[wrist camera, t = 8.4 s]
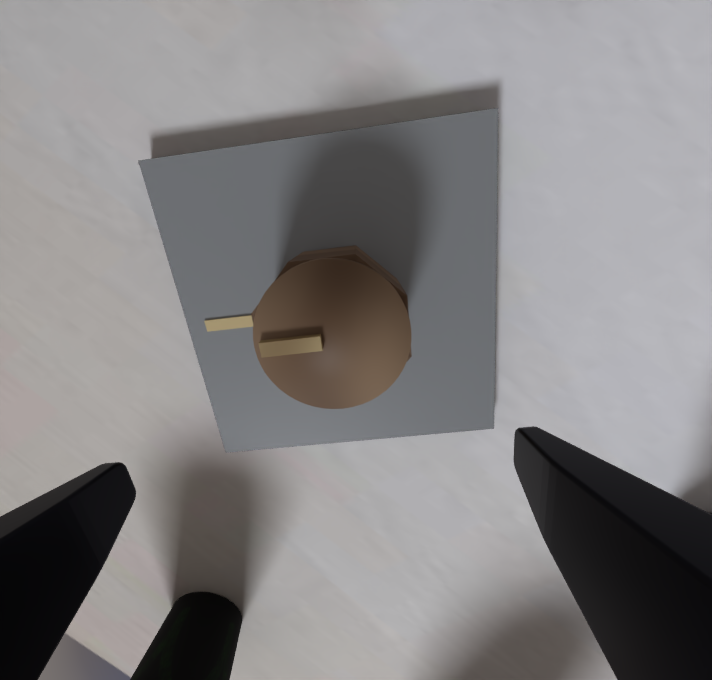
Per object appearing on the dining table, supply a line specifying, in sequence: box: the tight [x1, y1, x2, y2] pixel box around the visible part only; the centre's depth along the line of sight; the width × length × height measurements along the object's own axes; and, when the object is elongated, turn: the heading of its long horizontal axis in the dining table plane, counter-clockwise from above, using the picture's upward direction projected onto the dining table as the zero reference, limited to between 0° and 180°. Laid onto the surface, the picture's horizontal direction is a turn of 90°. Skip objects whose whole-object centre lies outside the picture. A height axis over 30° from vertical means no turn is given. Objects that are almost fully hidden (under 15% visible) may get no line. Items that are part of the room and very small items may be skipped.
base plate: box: [139, 108, 498, 452], centre depth 17 cm, size 16×16×4 cm
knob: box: [251, 245, 412, 409], centre depth 16 cm, size 6×6×5 cm
